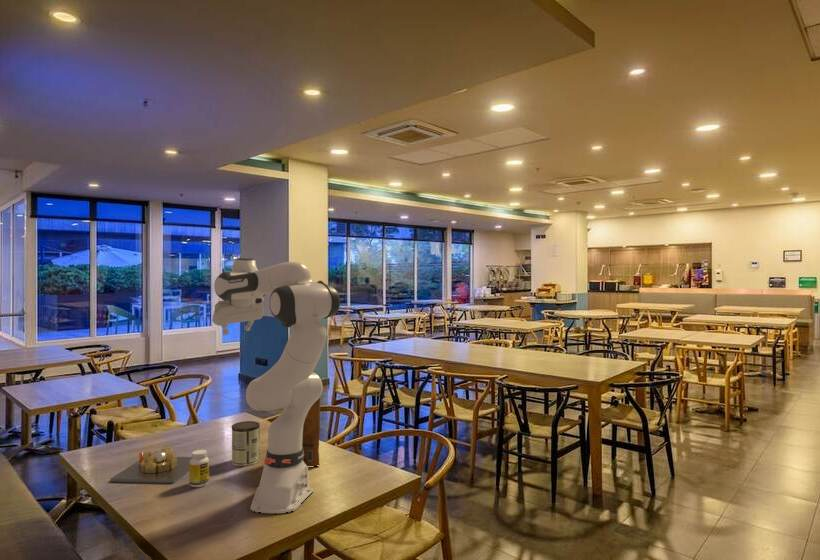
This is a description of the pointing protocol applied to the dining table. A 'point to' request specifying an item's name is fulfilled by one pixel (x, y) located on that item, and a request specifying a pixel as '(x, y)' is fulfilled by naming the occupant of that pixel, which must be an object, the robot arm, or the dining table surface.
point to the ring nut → (151, 464)
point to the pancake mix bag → (311, 435)
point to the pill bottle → (199, 469)
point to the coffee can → (245, 443)
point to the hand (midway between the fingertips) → (236, 332)
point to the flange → (137, 476)
